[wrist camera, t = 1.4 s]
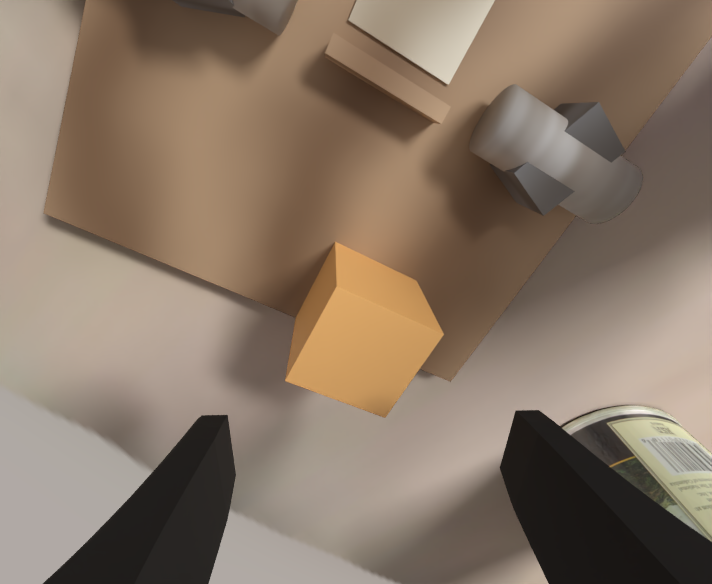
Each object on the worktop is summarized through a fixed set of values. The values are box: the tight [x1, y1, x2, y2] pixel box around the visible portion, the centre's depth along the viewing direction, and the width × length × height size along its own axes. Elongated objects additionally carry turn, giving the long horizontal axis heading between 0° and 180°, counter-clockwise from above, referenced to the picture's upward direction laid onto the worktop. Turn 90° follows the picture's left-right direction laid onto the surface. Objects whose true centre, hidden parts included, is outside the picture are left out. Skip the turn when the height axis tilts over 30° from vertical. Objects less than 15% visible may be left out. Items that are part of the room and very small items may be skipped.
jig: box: [44, 0, 712, 382], centre depth 13 cm, size 19×18×3 cm
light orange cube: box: [285, 242, 444, 418], centre depth 15 cm, size 4×4×4 cm
